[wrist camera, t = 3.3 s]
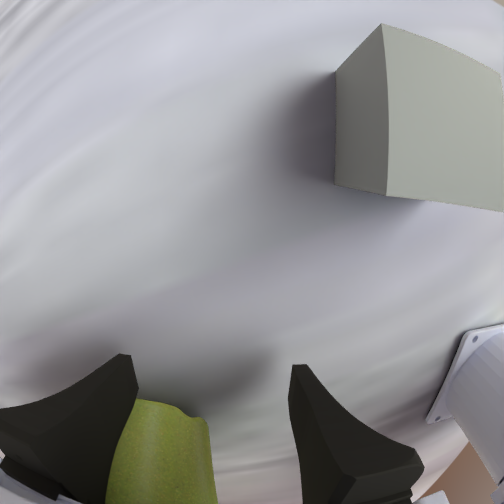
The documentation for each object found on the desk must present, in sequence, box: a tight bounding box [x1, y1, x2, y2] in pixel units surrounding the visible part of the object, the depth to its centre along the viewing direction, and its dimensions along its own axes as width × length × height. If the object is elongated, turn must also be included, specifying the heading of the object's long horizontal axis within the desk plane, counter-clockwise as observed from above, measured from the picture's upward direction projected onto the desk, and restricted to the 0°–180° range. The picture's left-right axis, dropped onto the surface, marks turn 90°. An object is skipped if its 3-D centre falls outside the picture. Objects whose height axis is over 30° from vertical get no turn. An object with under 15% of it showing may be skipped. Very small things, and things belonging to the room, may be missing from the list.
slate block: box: [334, 23, 504, 213], centre depth 8 cm, size 5×5×5 cm
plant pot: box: [105, 398, 218, 504], centre depth 10 cm, size 9×9×9 cm
